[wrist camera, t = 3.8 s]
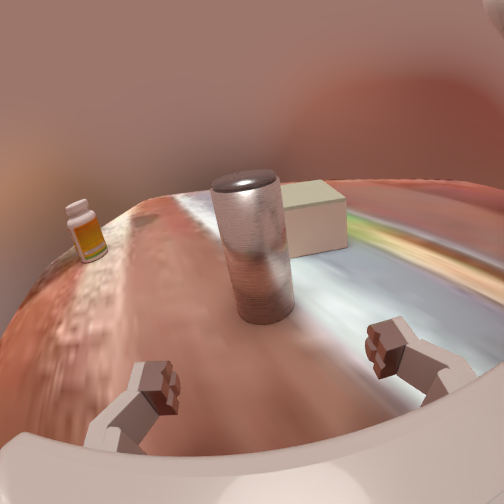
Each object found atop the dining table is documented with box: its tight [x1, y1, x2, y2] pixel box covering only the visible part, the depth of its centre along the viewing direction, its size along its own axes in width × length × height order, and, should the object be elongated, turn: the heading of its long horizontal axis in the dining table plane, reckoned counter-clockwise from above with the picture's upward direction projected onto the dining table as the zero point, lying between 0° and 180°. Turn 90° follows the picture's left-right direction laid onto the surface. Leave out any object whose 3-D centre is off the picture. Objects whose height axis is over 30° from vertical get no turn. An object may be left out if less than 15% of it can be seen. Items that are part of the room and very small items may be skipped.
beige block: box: [281, 180, 347, 258], centre depth 34 cm, size 9×9×6 cm
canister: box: [210, 169, 294, 325], centre depth 22 cm, size 5×5×12 cm
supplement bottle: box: [65, 199, 108, 263], centre depth 40 cm, size 5×5×10 cm
